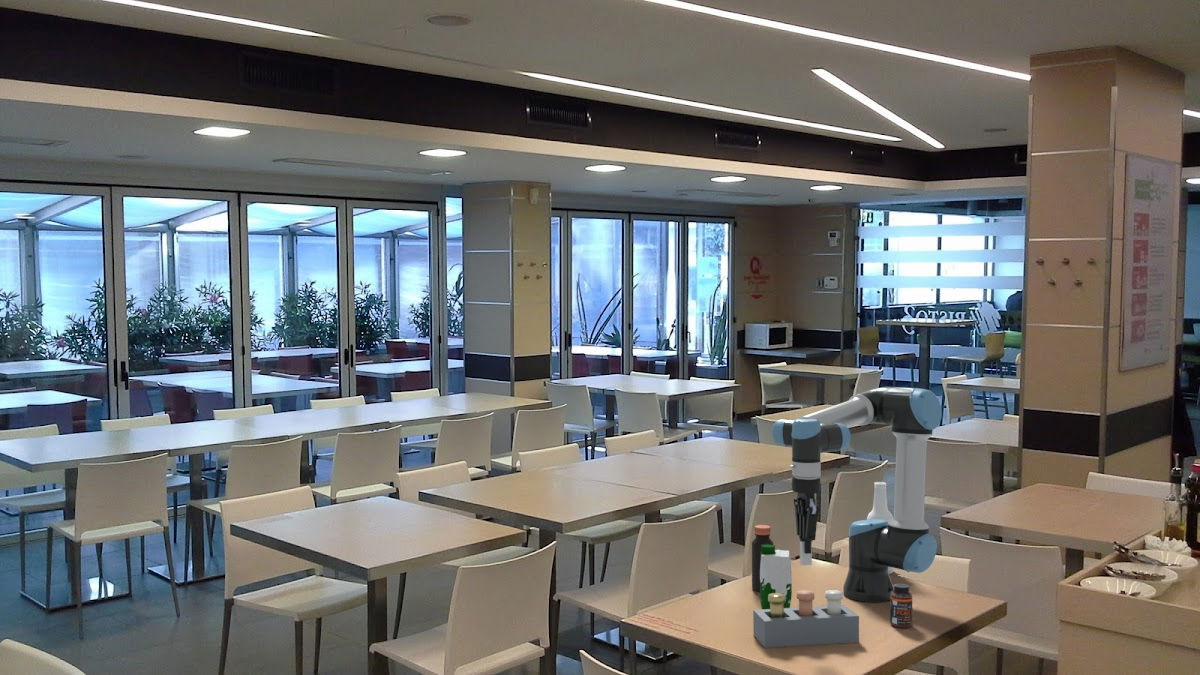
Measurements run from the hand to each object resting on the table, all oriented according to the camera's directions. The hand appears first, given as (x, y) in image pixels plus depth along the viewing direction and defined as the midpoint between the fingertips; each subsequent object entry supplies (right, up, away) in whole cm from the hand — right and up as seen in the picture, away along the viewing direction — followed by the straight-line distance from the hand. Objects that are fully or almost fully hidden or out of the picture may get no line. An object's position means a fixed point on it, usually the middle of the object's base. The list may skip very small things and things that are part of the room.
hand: (805, 564), depth 269 cm
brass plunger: (-8, -15, -1) cm, 17 cm away
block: (0, -20, +1) cm, 20 cm away
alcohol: (+39, -18, +67) cm, 80 cm away
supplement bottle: (+29, -20, +11) cm, 37 cm away
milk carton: (-4, -20, +22) cm, 30 cm away
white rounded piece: (+8, -15, +2) cm, 17 cm away
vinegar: (-4, -19, +48) cm, 52 cm away
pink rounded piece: (0, -15, +1) cm, 15 cm away
